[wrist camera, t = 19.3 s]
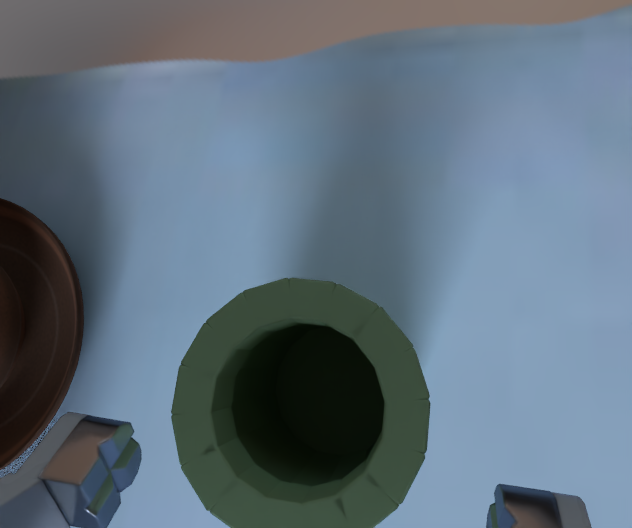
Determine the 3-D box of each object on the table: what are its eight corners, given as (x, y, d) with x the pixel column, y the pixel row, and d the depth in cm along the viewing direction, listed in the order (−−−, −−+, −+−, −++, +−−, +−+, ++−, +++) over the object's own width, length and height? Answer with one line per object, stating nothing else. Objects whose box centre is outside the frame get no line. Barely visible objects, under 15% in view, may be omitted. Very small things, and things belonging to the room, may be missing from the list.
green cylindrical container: (416, 324, 18) (439, 292, 10) (404, 473, 17) (417, 579, 9) (280, 309, 19) (195, 267, 11) (261, 449, 18) (150, 523, 10)
